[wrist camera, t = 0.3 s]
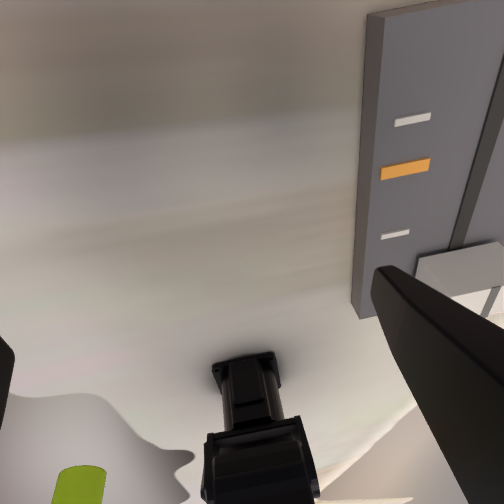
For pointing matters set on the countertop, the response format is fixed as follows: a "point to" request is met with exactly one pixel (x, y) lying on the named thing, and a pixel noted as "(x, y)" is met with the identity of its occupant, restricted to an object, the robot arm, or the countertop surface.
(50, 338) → the countertop surface
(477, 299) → the fader
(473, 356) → the robot arm
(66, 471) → the soap dispenser
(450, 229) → the gray slotted panel
